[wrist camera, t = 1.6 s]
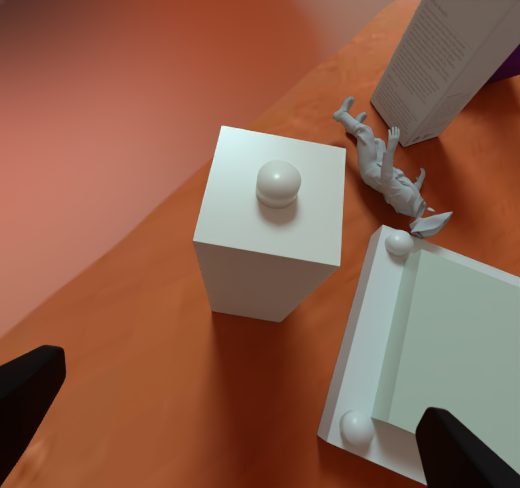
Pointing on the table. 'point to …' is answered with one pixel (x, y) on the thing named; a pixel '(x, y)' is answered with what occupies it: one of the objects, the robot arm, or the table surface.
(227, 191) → the tall brick
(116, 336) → the table surface
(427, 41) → the skincare box
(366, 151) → the soldier figure
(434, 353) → the studded pedestal base
